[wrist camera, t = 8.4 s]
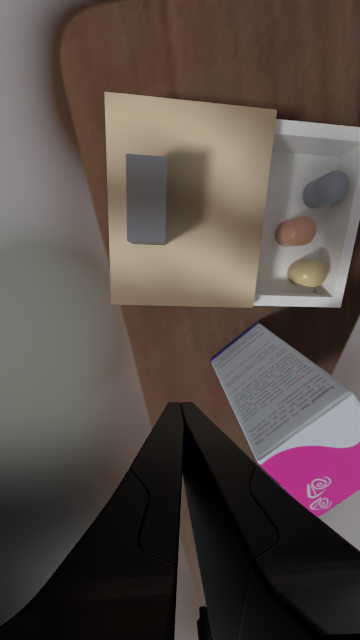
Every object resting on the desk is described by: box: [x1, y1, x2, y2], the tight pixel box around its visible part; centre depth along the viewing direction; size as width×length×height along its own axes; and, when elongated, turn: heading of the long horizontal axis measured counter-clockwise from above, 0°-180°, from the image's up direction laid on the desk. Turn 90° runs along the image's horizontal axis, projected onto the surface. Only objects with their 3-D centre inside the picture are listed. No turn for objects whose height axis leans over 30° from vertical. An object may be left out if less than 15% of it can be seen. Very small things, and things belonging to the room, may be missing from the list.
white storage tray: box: [254, 119, 360, 308], centre depth 18 cm, size 12×10×3 cm
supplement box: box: [211, 322, 360, 517], centre depth 17 cm, size 6×6×12 cm
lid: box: [105, 92, 277, 308], centre depth 14 cm, size 12×10×4 cm
